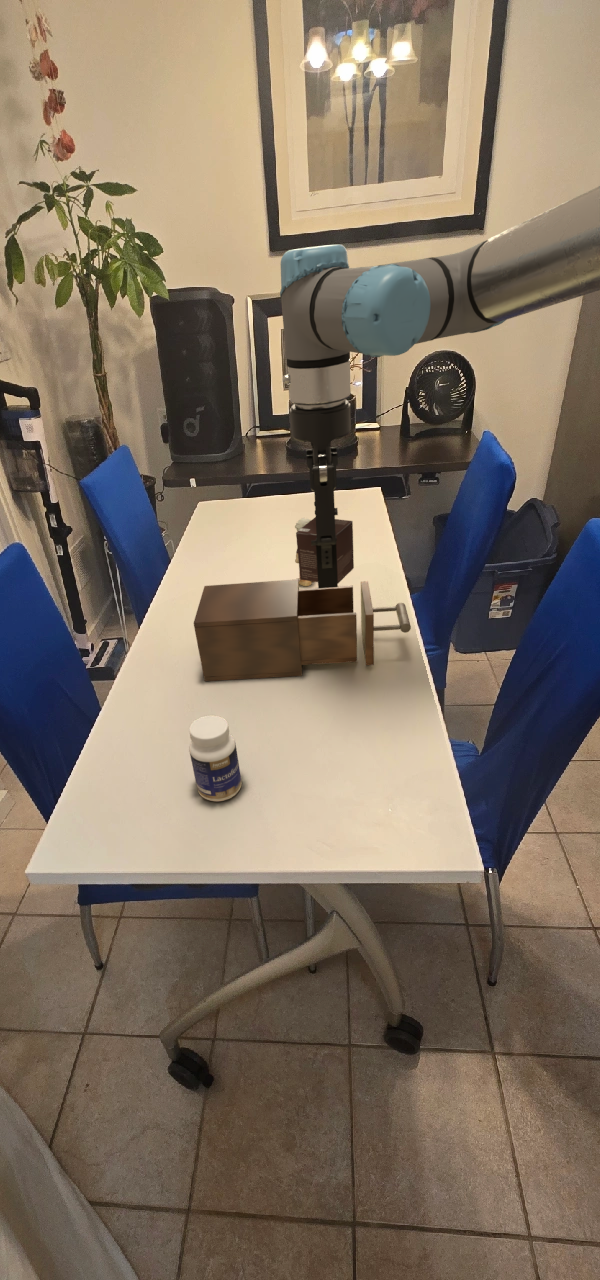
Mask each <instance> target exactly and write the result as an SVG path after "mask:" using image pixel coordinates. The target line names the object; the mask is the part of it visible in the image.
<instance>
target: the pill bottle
mask: <svg viewBox="0 0 600 1280" xmlns="http://www.w3.org/2000/svg"><path fill="white" fill-rule="evenodd" d="M188 732H189V737H190V740H191V741H190V742H189V746H188V750H189V751H188V752H189V757H190V761H191V765H192V770H193V775H194V780H195V785H196V789H197V791H198V794H199V795H200V796H201V797H202V798H203V799H205V800H207V801H211V802H223V801H227V800H229V799H232V798H233V797H235V796H236V795H237V794H238V793H239V791H240V789H241V788H242V774H241V769H240V763H239V756H238V751H237V744H236V740H235V737H234V736H233V735H232V733H230V726H229V722H228V720H226V719H225V718H224V717H222V716H219V715H213V714H212V715H209V714H208V715H204V716H200V717H198V718H197V719H195V720H193V721H192V722H191V724H190V725H189V728H188Z"/></svg>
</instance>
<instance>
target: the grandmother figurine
mask: <svg viewBox="0 0 600 1280" xmlns="http://www.w3.org/2000/svg"><path fill="white" fill-rule="evenodd" d="M311 520H312V519H310V518H308V517H301V518H299V519H298V521H296V523H295V525H294V529H296V532H297V531H298V530H299V529H301V528H302V527H303V526H305V525H306V524H307V523H309V522H310V521H311ZM294 562H295V564H299V561H298V549H297V548H296V552H295V559H294ZM298 574H299V575H298V577H299V580H298V581H299V586H303V587H309V586H310V587H311V585H312V581H307V580H300V572H299V571H298Z"/></svg>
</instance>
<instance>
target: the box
mask: <svg viewBox="0 0 600 1280" xmlns="http://www.w3.org/2000/svg"><path fill="white" fill-rule="evenodd" d="M310 520H311V521H310V522H309V523H307V524H306V525H305V526H303V527H302V528H301V529H299V530H298V531H297V530H296V532H295V537H296V550H297V549H298V561H299V563H298V570H299V571H298V573H299V572H300V578H299V581H300V580H307V581H311V582H315V583H318V573H317V555H316V545H314V546H311V541H316V538H317V533H316V516H315V517H313V518H312V519H310ZM353 525H354V523H353V520H346V519H337V518H335V533H336V538H337V542H336V550H337V580H338V584H340V583H341V582H342V580H344V579H345V577H347V576H348V575H349V574H350V573H351V572H352V571H353V570H354V568H355V563H354V529H353V528H354V527H353Z"/></svg>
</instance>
